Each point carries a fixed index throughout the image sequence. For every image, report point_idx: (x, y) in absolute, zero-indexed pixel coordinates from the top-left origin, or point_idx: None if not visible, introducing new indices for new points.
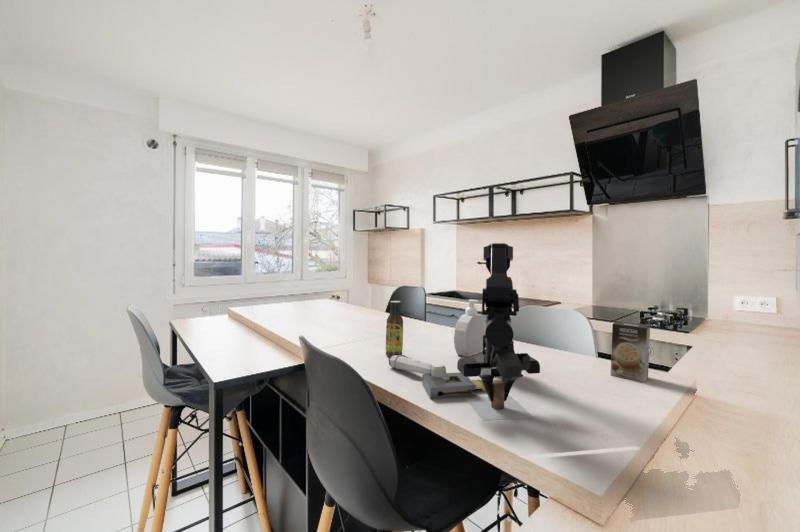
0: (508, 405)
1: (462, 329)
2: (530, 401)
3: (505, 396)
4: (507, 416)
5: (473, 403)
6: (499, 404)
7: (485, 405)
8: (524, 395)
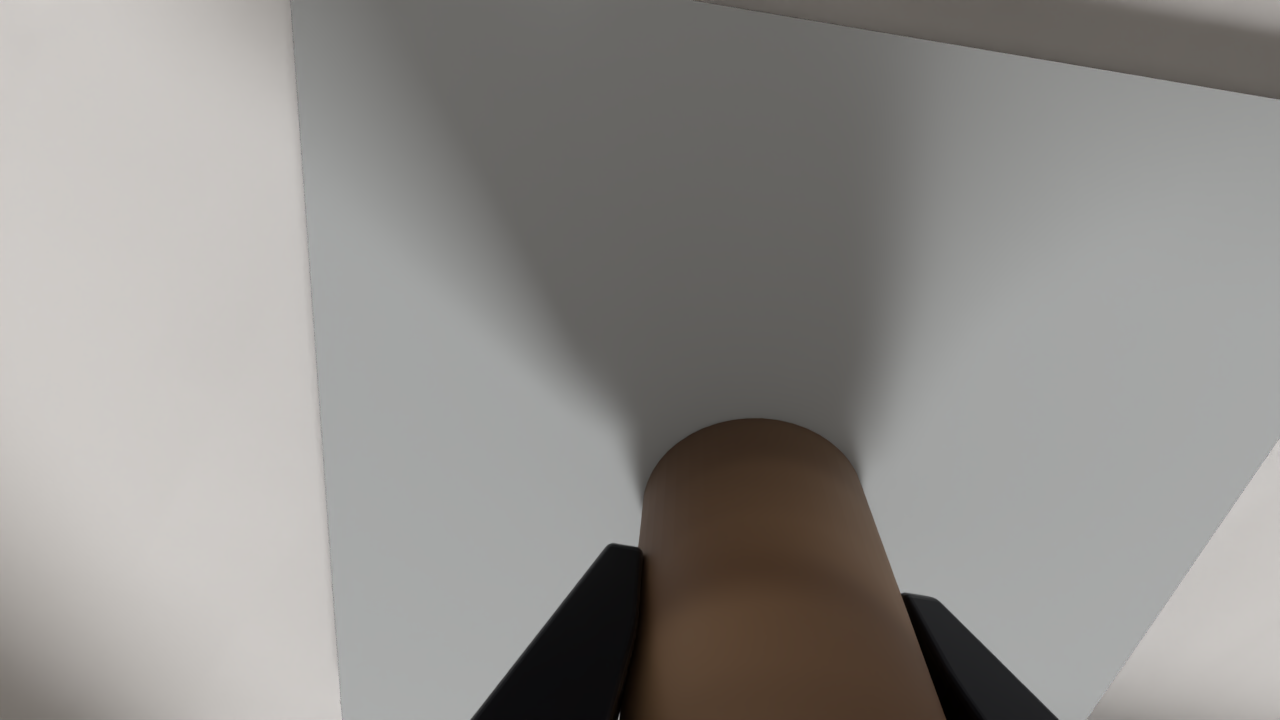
0: (537, 502)
1: None
2: (105, 536)
3: (625, 609)
4: (841, 134)
5: None
6: (807, 484)
7: None
8: (128, 685)
